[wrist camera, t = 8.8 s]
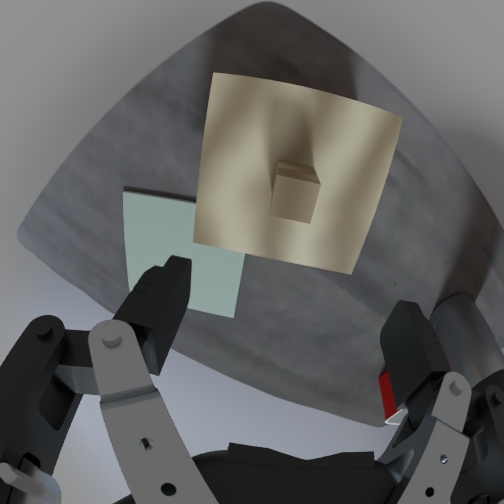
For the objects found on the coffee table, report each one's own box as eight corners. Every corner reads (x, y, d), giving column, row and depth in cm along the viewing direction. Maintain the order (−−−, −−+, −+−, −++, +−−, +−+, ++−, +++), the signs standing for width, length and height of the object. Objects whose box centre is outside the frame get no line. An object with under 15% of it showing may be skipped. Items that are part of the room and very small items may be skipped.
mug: (373, 380, 52) (381, 423, 43) (398, 357, 48) (410, 402, 39) (410, 387, 53) (420, 425, 44) (434, 366, 49) (447, 405, 40)
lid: (399, 116, 20) (429, 123, 15) (349, 269, 29) (360, 307, 23) (216, 73, 20) (195, 66, 15) (195, 237, 29) (176, 271, 23)
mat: (252, 212, 36) (252, 214, 36) (233, 315, 46) (233, 317, 45) (125, 190, 36) (123, 191, 36) (131, 290, 46) (129, 293, 45)
